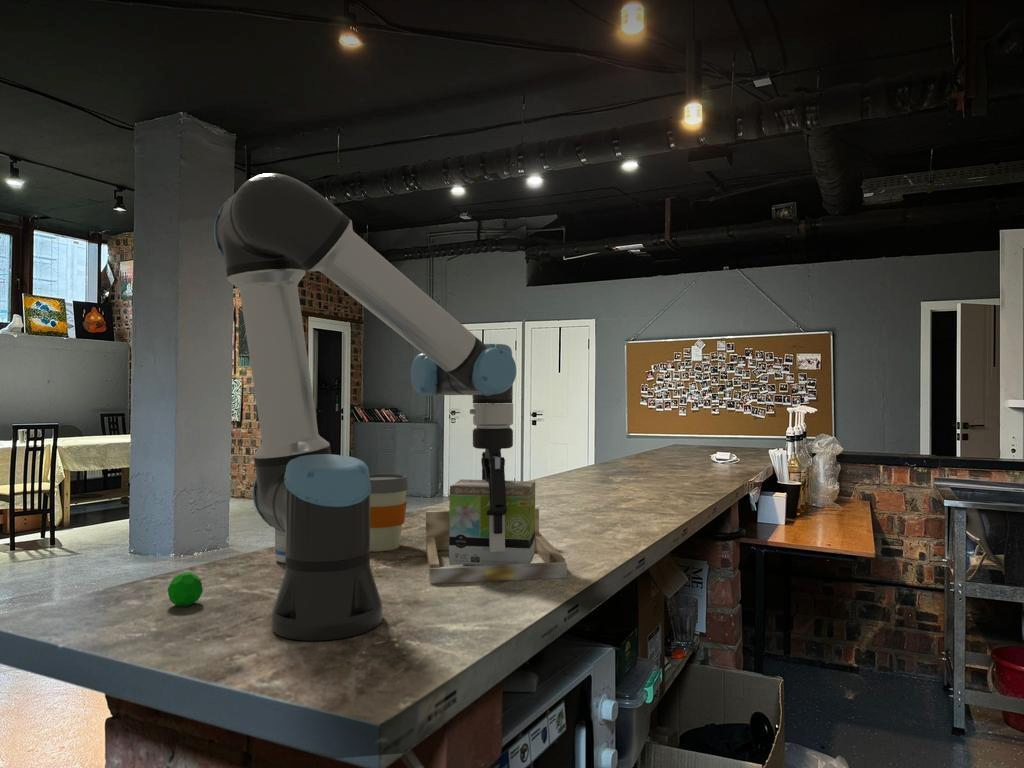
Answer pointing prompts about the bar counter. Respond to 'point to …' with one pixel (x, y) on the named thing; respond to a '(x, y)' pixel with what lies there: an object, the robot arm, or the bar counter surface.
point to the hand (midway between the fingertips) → (493, 544)
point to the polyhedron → (185, 589)
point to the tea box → (474, 523)
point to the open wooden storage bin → (440, 541)
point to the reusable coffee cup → (387, 510)
